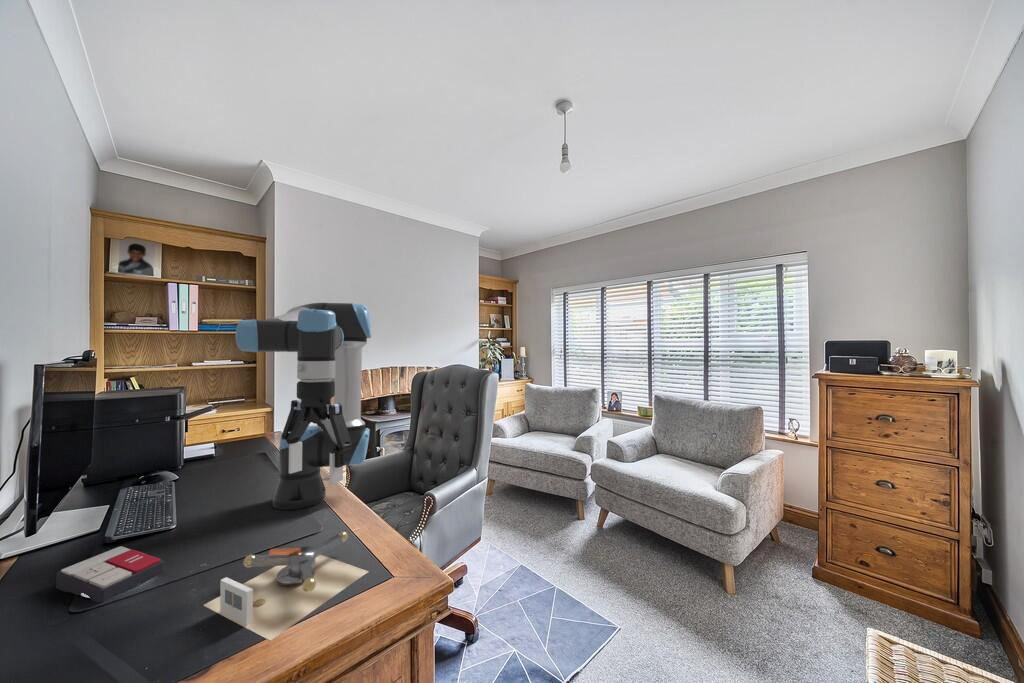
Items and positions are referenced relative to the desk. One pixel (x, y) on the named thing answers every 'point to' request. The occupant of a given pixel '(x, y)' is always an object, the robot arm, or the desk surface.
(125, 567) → the grey and red box
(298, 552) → the capstan
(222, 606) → the panel
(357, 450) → the robot arm
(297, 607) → the stand base
